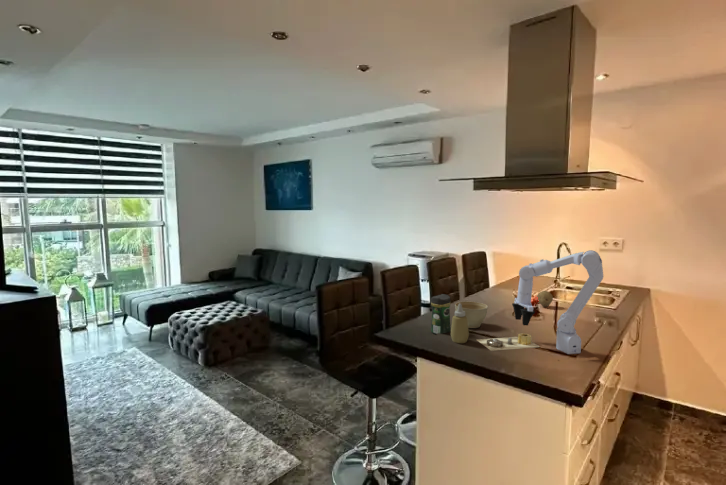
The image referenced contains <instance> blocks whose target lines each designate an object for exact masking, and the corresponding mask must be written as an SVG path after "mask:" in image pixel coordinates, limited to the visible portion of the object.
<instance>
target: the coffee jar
mask: <svg viewBox="0 0 726 485" xmlns="http://www.w3.org/2000/svg"><path fill="white" fill-rule="evenodd" d="M430 299H431V300H430V305H431V323H430V331H431V333H432V334H434V335H437V334H445V333H446V334H447V333H448V334H449V333H451V311H450V310H451V296H449V294H445V293H441V294H438V295H434V296H432V297H431V298H430Z"/></svg>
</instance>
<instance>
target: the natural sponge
mask: <svg viewBox="0 0 726 485" xmlns="http://www.w3.org/2000/svg"><path fill="white" fill-rule="evenodd" d="M537 297H538V300H539V302H537V303H538V304H539V305H541V306H542V307H543V308H547V307H549V306H550V305H551V304H552V302H553V301H554V300H553V299H554V297H553V294H552V293H551V292H550V291H547V290H542V291H539V292H538V293H537V295H536V298H537Z"/></svg>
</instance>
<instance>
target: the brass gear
mask: <svg viewBox="0 0 726 485" xmlns="http://www.w3.org/2000/svg"><path fill="white" fill-rule="evenodd" d="M531 335H532V334H530V333H529V334H528V333H522V332H521V333H518V334H517V337H518V343H519V344H522V345H529V344H531V342H532V336H531Z"/></svg>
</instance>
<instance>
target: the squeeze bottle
mask: <svg viewBox="0 0 726 485" xmlns="http://www.w3.org/2000/svg"><path fill="white" fill-rule="evenodd" d="M450 327H451V331H450V338H451V340H452V342H453V343H456V344H465V343H468V339H469V336H470V333H469V328H468V320H467V317H466V316H465V312H464V311H463V309H462V304H459V305H458V309H457V311H456V310H455V311H454V315H453V316H452V319H451V325H450Z"/></svg>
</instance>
